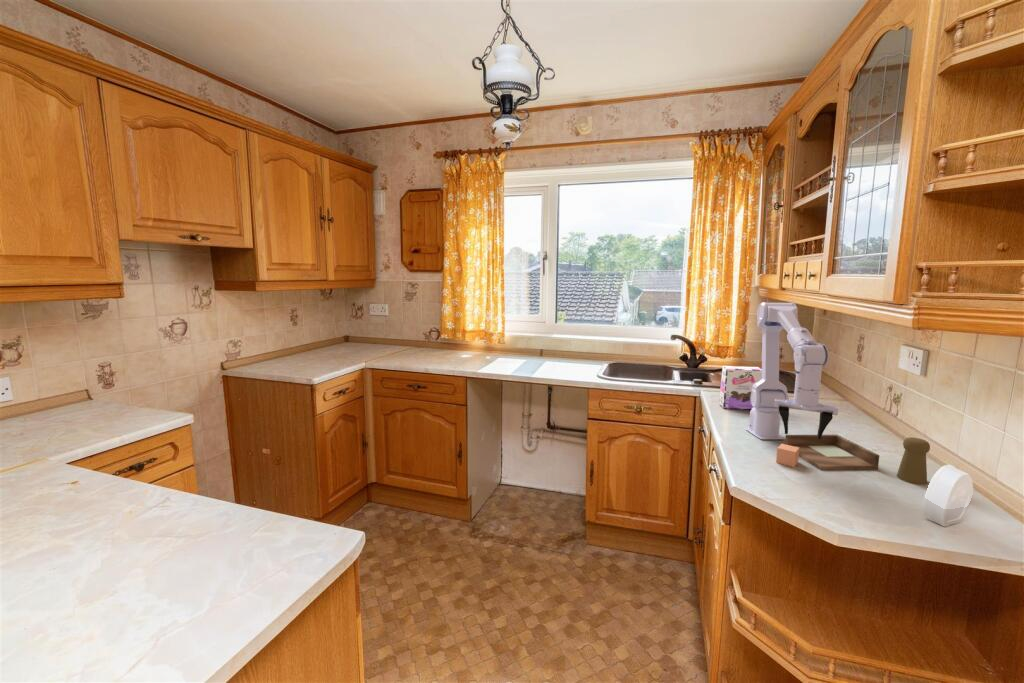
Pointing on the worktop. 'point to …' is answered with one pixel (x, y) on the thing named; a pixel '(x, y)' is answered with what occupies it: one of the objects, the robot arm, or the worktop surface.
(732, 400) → the candy box
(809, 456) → the arena
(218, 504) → the worktop surface
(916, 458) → the cork
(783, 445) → the cube
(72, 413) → the worktop surface
